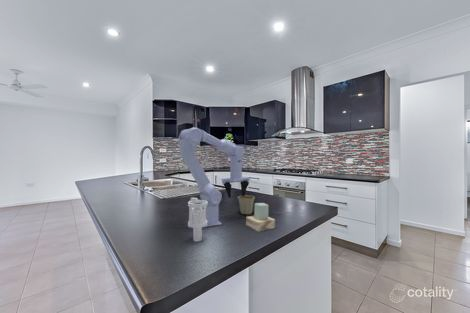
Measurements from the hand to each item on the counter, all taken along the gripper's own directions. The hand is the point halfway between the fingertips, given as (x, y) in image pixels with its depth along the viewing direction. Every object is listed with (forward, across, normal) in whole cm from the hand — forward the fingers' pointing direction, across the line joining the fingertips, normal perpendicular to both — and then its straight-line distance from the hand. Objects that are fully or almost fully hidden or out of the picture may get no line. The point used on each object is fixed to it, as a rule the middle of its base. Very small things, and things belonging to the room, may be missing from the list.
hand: (236, 196), depth 100 cm
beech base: (+11, +4, -16) cm, 20 cm away
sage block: (+7, +5, -16) cm, 18 cm away
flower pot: (+11, +8, +5) cm, 14 cm away
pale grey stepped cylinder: (+10, -25, -18) cm, 32 cm away
